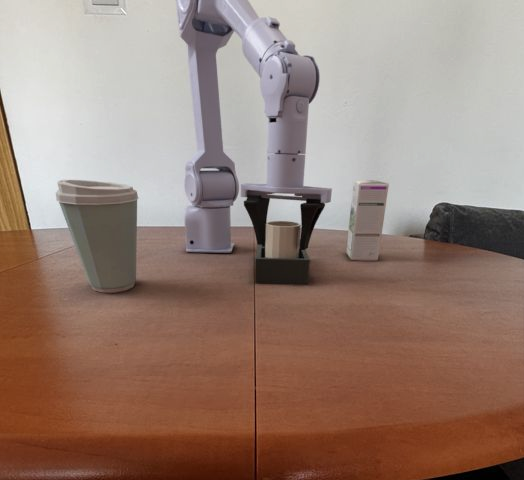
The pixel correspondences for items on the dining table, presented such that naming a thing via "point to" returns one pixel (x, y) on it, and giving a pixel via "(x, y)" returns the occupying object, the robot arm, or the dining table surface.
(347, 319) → the dining table surface
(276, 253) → the paper cup
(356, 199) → the syrup box
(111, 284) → the disposable coffee cup
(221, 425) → the dining table surface
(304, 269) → the cup holder
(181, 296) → the dining table surface
